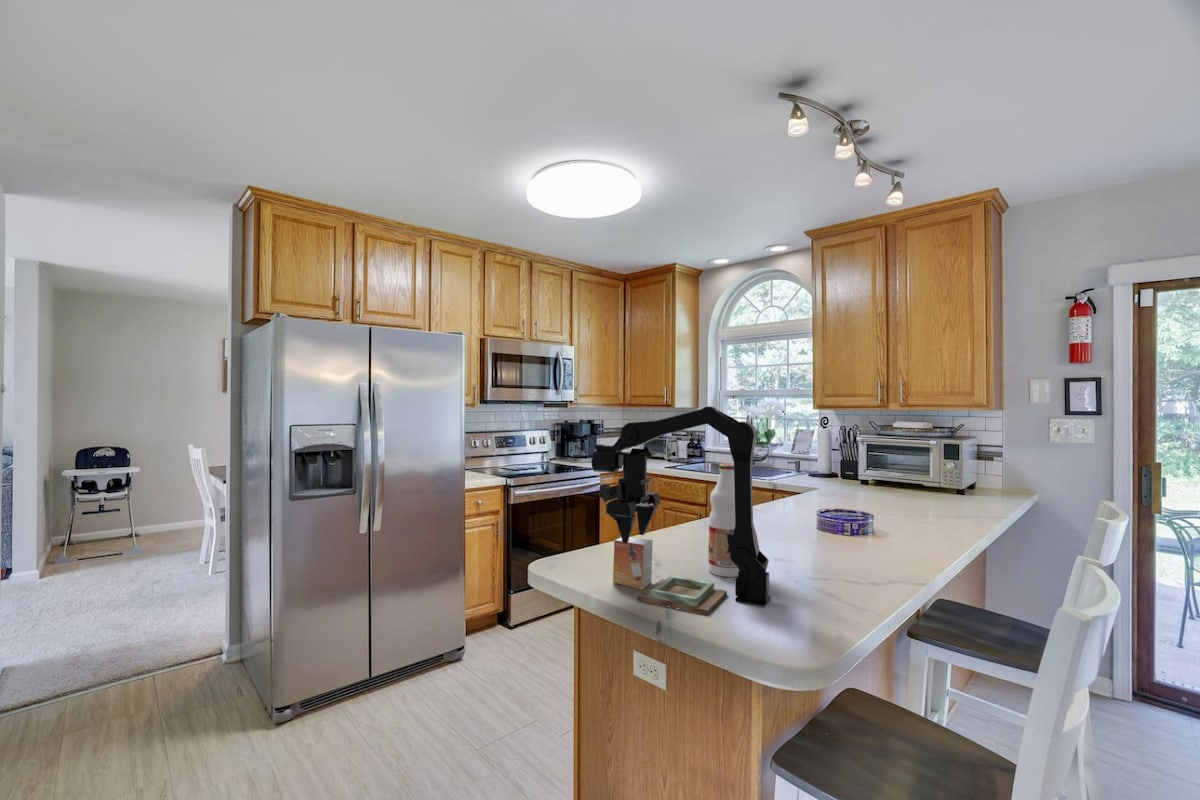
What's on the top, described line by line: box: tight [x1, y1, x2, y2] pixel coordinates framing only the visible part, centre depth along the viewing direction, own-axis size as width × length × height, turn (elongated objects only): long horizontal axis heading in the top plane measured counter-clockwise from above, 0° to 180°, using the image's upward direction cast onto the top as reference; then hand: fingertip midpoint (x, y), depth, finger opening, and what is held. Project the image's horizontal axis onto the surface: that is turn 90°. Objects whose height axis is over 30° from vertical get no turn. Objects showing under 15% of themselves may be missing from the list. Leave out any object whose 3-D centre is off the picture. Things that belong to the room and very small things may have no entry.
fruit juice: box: [707, 463, 739, 578], centre depth 144 cm, size 9×9×28 cm
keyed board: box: [636, 575, 728, 616], centre depth 125 cm, size 16×14×2 cm
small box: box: [612, 536, 654, 589], centre depth 134 cm, size 8×6×10 cm
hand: (633, 538), depth 134 cm, fingers open, 9 cm apart
